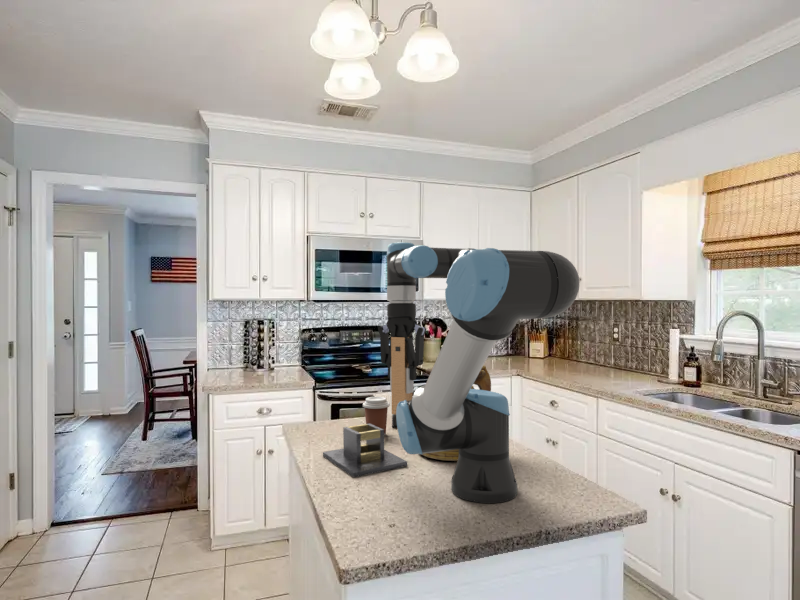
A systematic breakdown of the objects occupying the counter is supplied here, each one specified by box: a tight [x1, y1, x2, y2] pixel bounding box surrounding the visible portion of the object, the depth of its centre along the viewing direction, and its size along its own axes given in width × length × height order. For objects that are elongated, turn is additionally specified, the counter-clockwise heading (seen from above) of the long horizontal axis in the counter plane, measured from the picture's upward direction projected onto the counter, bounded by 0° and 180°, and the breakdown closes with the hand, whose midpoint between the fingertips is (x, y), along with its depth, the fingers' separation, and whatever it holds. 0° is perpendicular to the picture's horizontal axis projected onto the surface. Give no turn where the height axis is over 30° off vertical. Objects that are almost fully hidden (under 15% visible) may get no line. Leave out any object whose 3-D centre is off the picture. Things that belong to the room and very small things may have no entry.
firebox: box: [322, 423, 408, 478], centre depth 134 cm, size 20×16×9 cm
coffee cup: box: [362, 396, 391, 436], centre depth 161 cm, size 9×9×12 cm
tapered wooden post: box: [390, 336, 413, 415], centre depth 126 cm, size 4×4×20 cm
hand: (401, 391), depth 126 cm, fingers closed on tapered wooden post, 4 cm apart
